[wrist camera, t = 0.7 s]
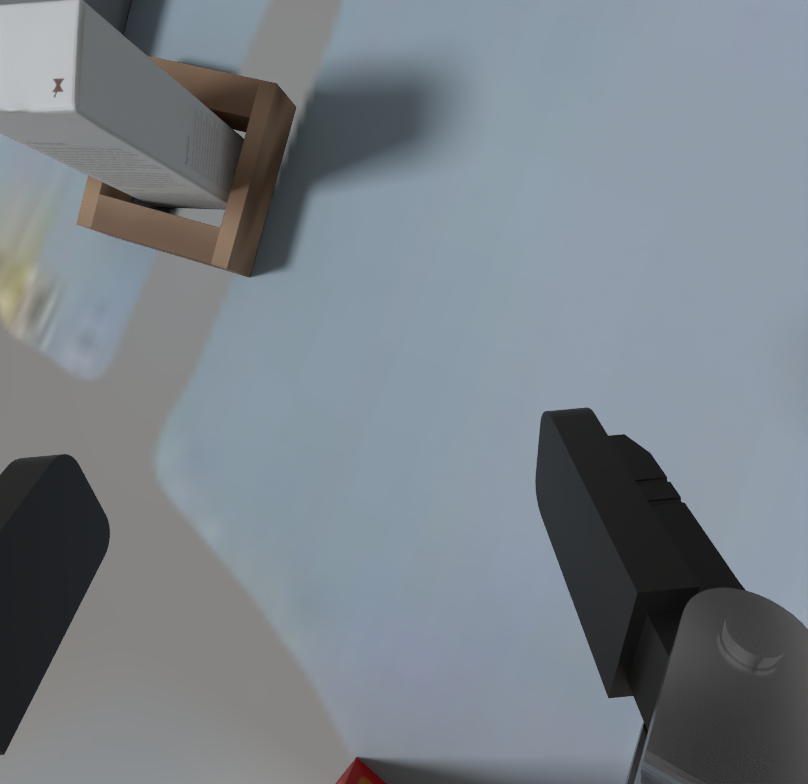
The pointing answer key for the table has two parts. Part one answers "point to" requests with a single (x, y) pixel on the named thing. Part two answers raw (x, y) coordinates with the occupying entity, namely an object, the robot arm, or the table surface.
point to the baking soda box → (359, 775)
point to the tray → (97, 10)
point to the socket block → (251, 189)
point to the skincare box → (109, 108)
